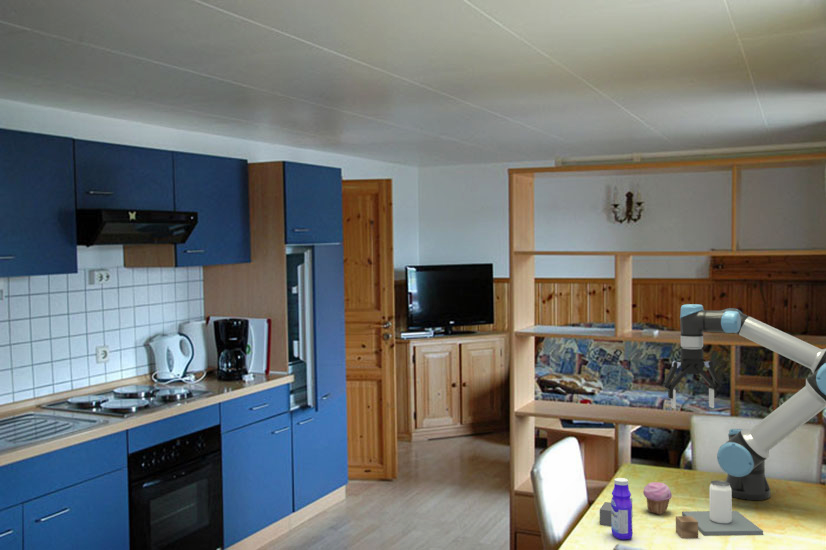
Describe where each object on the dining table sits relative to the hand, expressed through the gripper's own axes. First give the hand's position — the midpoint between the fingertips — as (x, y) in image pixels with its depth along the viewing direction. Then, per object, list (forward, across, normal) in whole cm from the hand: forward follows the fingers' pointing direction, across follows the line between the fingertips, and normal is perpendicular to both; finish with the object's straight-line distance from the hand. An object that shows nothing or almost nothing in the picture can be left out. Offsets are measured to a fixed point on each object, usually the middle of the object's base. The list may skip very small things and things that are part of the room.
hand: (692, 407), depth 256 cm
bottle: (+32, +36, +37) cm, 61 cm away
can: (+31, +2, +28) cm, 42 cm away
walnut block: (+32, +16, +36) cm, 51 cm away
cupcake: (+32, +18, +16) cm, 40 cm away
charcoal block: (+32, +36, +24) cm, 54 cm away
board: (+32, +2, +28) cm, 42 cm away
